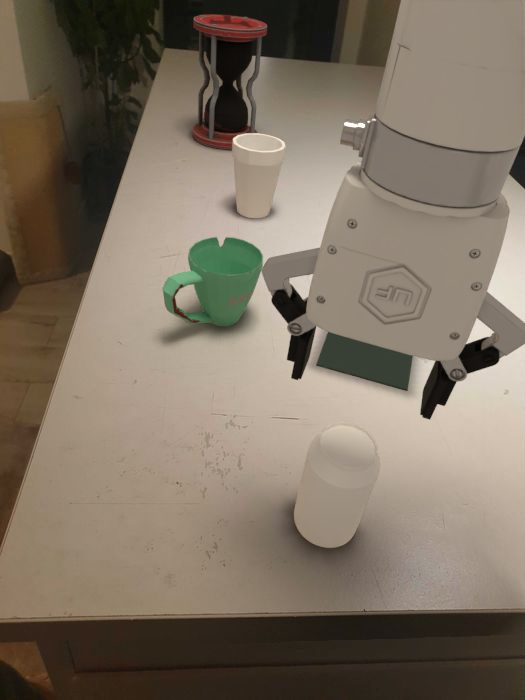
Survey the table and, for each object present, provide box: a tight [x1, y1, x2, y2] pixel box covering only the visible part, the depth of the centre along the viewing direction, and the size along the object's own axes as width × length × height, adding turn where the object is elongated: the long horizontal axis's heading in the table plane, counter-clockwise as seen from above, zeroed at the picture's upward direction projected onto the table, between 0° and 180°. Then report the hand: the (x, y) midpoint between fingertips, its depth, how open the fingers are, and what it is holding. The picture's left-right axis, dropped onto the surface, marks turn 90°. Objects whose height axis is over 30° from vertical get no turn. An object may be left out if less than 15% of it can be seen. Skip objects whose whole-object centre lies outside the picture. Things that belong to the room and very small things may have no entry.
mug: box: [162, 236, 264, 327], centre depth 70 cm, size 15×10×10 cm
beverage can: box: [293, 421, 381, 549], centre depth 47 cm, size 6×6×12 cm
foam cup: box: [231, 132, 287, 219], centre depth 97 cm, size 10×9×13 cm
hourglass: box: [192, 13, 268, 150], centre depth 122 cm, size 16×16×25 cm
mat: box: [316, 331, 414, 391], centre depth 75 cm, size 20×12×1 cm, turn 162°
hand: (361, 386), depth 39 cm, fingers open, 9 cm apart
